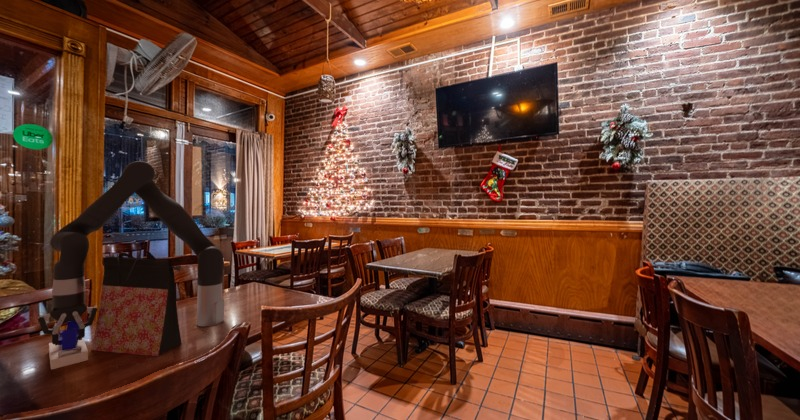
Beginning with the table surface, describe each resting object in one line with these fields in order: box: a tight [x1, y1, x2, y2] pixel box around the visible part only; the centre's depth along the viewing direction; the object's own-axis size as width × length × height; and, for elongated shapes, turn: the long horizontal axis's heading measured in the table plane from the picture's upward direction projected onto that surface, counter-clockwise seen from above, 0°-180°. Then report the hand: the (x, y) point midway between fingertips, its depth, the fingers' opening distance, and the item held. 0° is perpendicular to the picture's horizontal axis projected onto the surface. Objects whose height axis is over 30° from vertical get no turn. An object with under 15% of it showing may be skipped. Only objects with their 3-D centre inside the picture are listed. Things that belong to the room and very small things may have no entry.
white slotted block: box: [48, 338, 89, 370], centre depth 103 cm, size 8×17×4 cm, turn 50°
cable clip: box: [59, 321, 79, 350], centre depth 103 cm, size 12×4×6 cm, turn 41°
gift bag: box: [90, 251, 182, 357], centre depth 110 cm, size 29×14×35 cm, turn 84°
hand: (68, 341), depth 104 cm, fingers closed on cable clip, 4 cm apart
